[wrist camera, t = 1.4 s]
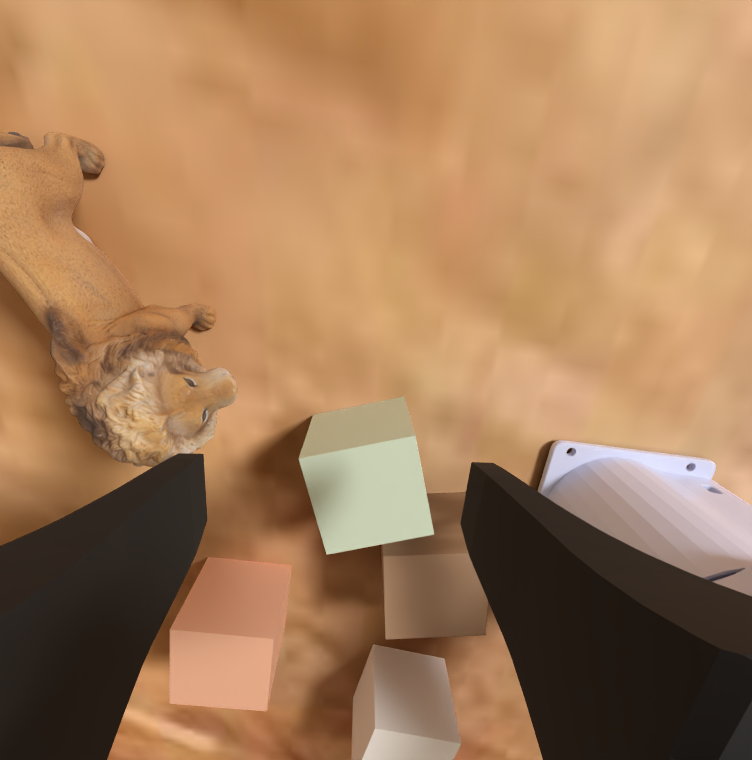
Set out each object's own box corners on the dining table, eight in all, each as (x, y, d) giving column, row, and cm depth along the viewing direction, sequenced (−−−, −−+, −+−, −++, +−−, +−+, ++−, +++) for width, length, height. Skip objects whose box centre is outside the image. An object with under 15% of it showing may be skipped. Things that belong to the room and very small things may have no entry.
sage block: (404, 396, 21) (415, 435, 17) (419, 476, 23) (434, 534, 18) (313, 414, 22) (298, 458, 17) (334, 492, 23) (326, 554, 18)
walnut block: (465, 491, 23) (491, 552, 18) (462, 561, 25) (485, 635, 20) (379, 494, 23) (383, 556, 18) (381, 565, 25) (385, 639, 20)
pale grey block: (444, 657, 27) (461, 743, 22) (421, 708, 28) (432, 800, 24) (373, 643, 26) (375, 728, 22) (353, 696, 28) (350, 787, 23)
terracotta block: (291, 564, 24) (273, 639, 20) (285, 627, 26) (266, 711, 21) (208, 555, 24) (169, 629, 19) (206, 619, 25) (169, 703, 21)
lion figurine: (290, 359, 21) (236, 432, 12) (216, 419, 21) (116, 527, 13) (58, 97, 17) (-259, -69, 8) (-20, 182, 18) (-380, 112, 9)
